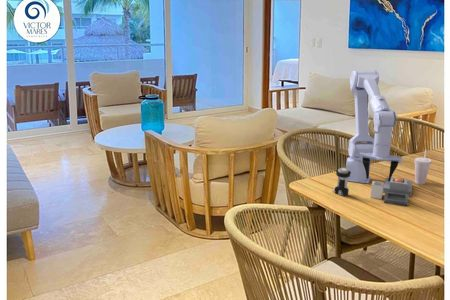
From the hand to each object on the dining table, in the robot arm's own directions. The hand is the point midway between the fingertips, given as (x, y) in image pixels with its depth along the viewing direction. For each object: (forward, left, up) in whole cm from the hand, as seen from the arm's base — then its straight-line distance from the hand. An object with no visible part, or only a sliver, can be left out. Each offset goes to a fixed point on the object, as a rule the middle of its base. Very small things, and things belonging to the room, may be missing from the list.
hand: (378, 179), depth 174 cm
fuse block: (0, 0, -7) cm, 7 cm away
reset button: (+7, +8, -4) cm, 11 cm away
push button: (-13, -3, -7) cm, 15 cm away
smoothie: (+15, +22, -7) cm, 28 cm away
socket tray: (+7, -1, -7) cm, 10 cm away
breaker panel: (+7, +11, -7) cm, 14 cm away
